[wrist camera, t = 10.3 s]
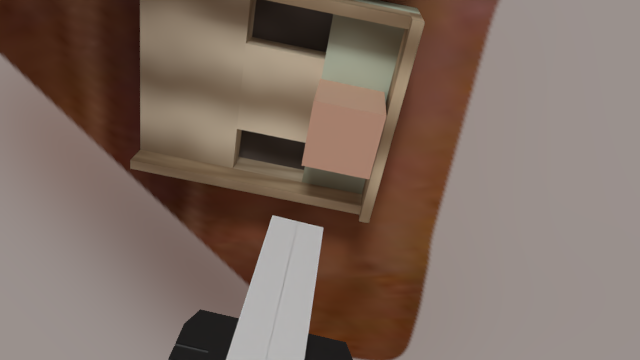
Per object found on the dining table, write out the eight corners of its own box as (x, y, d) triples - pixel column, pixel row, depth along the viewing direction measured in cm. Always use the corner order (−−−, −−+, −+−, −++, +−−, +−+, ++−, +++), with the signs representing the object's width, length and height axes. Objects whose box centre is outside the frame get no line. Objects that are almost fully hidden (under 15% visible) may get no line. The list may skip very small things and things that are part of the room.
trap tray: (153, -47, 36) (120, -41, 31) (417, 8, 36) (424, 22, 31) (151, 145, 44) (125, 174, 39) (368, 189, 44) (368, 223, 39)
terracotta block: (320, 78, 37) (313, 100, 32) (384, 92, 37) (386, 115, 32) (308, 137, 39) (301, 165, 35) (369, 150, 39) (369, 179, 35)
